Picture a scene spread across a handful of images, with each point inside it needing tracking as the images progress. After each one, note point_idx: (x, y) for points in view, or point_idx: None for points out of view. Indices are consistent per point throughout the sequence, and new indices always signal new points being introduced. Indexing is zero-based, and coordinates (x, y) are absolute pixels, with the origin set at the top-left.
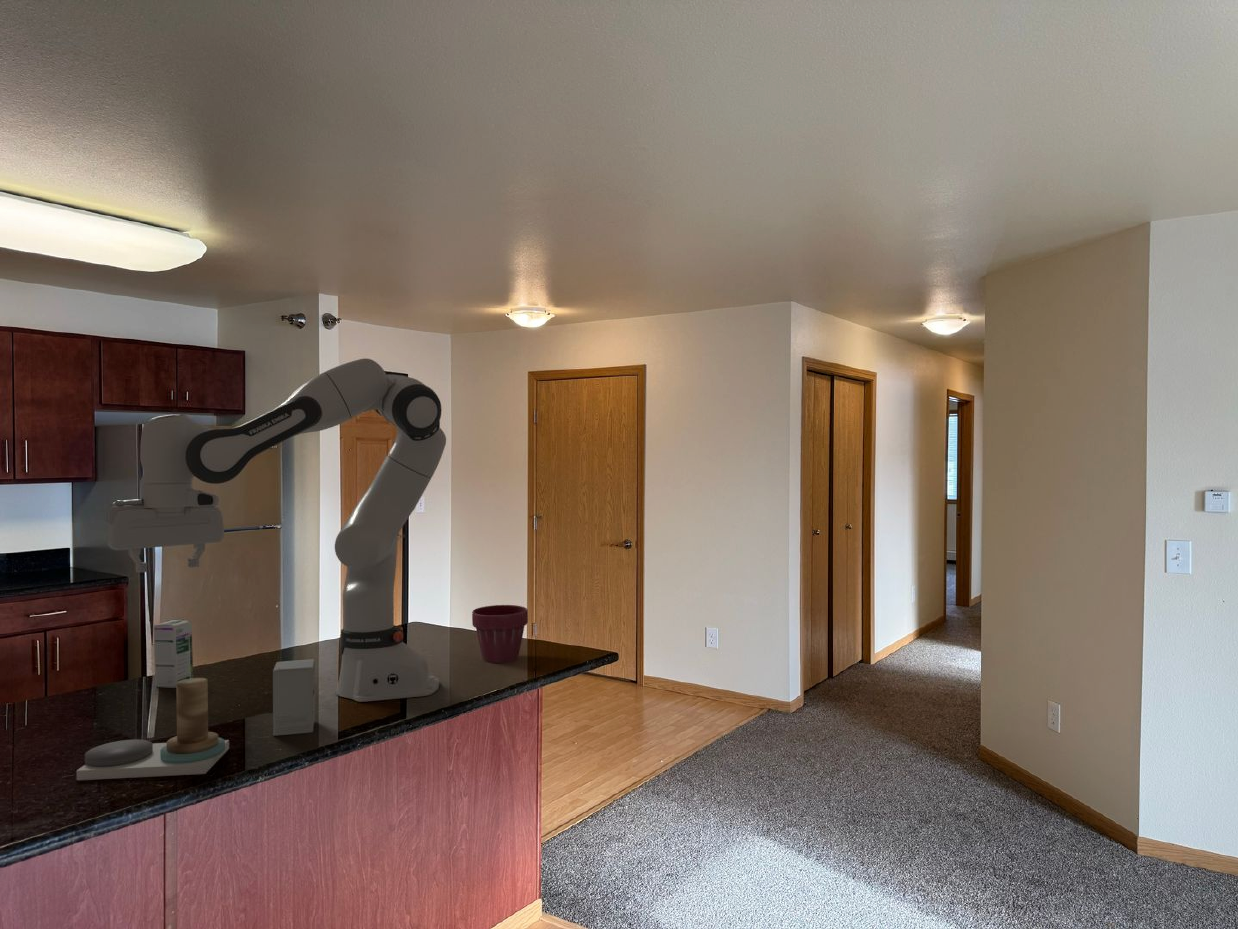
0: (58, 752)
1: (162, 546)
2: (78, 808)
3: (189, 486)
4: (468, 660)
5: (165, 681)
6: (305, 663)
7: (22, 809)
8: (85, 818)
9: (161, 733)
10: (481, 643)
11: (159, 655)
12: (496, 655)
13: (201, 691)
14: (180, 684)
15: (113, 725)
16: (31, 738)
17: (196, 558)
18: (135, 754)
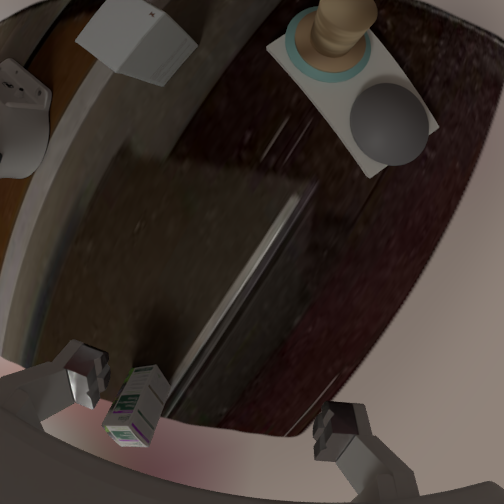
0: (389, 248)
1: (251, 497)
2: (463, 54)
3: None
4: None
5: (162, 380)
6: (105, 15)
7: (489, 107)
8: (466, 29)
9: (277, 200)
10: None
11: (156, 410)
12: None
13: None
14: (373, 10)
15: (290, 294)
16: (367, 327)
17: (63, 367)
18: (391, 84)
